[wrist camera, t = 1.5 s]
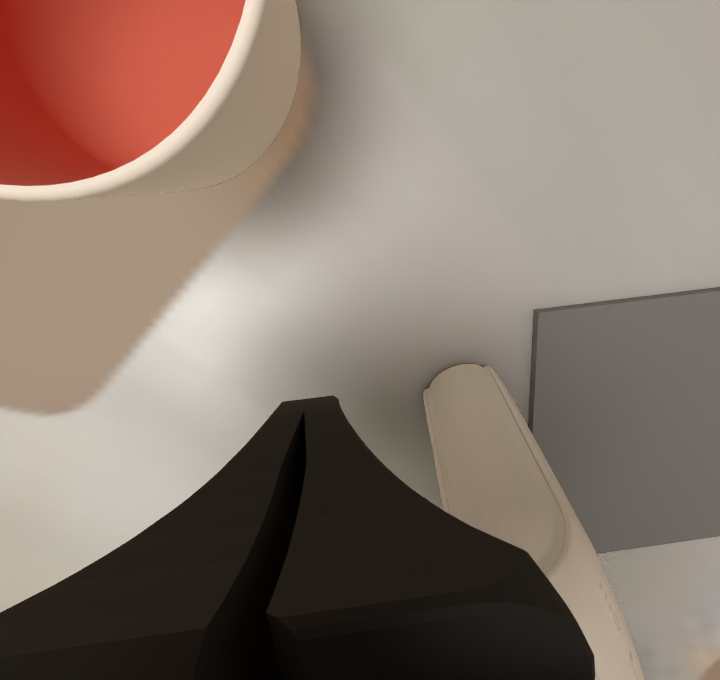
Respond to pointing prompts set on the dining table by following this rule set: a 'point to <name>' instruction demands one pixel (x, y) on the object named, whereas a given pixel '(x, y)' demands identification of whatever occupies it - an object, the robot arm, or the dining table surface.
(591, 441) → the rubber mat
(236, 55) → the cup
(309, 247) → the dining table surface
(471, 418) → the photo printer
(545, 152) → the dining table surface
